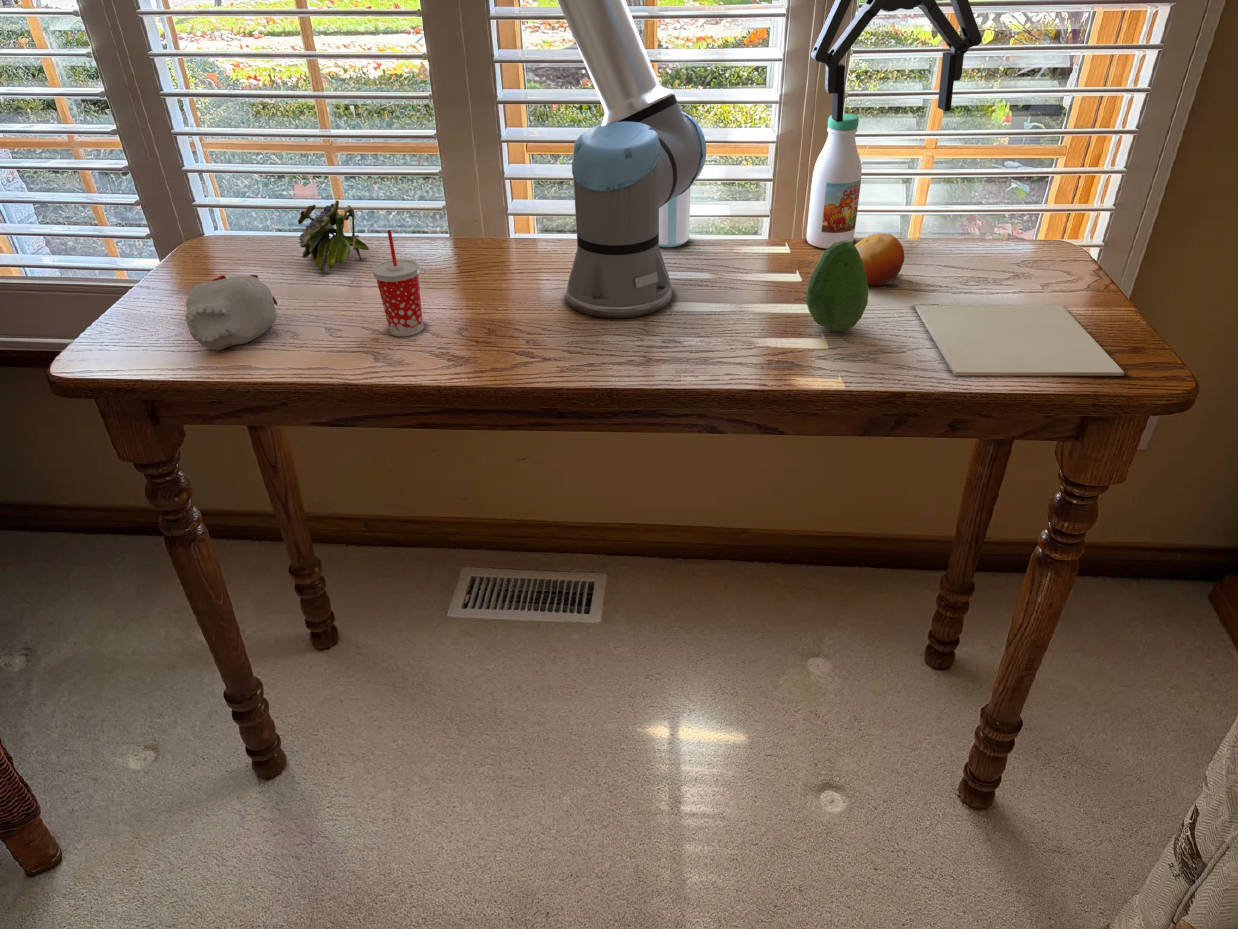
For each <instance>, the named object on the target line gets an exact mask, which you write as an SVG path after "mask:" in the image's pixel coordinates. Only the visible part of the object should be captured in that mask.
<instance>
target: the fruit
mask: <svg viewBox="0 0 1238 929" xmlns="http://www.w3.org/2000/svg"><path fill="white" fill-rule="evenodd" d="M854 246H855V247H856V248H857V250H858V252H859V254H860V257H861V260H862V263H863V266H864V269H865V273H866V278H867V283H868V286H870V287H878V286H879V287H880V286H883V285H894V283H895V280H896V279H897V277H898V275H899V274H900V272H901V270H902V268H903V265H904V264H905V250H904V247H903V245H902V243H901V241H900V240H899V239H898V238H897V237H896V236H894V235H893V234H890V233H875V234H870V235H868V236H866V237H864V238H862V239H861V240H859V241H858V242H856V244H854Z"/></svg>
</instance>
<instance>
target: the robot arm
mask: <svg viewBox="0 0 1238 929" xmlns="http://www.w3.org/2000/svg"><path fill="white" fill-rule="evenodd" d="M949 1H950V5H951V6H952V9H953V13H954V15H955V18H956V21H957V23H958V26H959V28H960V32H961V35H962V37H961V36H960V34H959V33H958V31H957V30H956V29H955V27H954V25H953V24H952V23H951V22H950V20H949V19H948V17H947V16H946V15H945V13H944V12H943V10H942V9H941V8H940V6H939V5H938V3H937V1H936V0H865V1H864V3H863V4H862V5H861V7H860V10H859V11H858V12H857V14H856V15H855V16H854V17H853V19H852V20H851V22H849V24H848V26H847V27H846V28H845V30H844V31H843V33H842V34H841V35H840V37H838V39H837V40H836V42H835V43H834V44H833V46H832V47H831V45H832V43H833V41H834V39H835V37H836V35H837V32H838V30H839V28H840V26H841V24H842V23H843V19H844V18H845V15H846V13H847V11H848V9H849V7H850V5H851V2H852V0H834V2H833V4H832V7H831V8H830V11H829V13H828V15H827V17H826V20H825V22H824V24H823V25H822V29H821V31H820V33H819V35H818V37H817V39H816V42H815V43H814V45H813V48H812V51H811V53H810V57H811V59H813V60H814V61H816V62H819V63H821V64H824V66H825V77H824V81H825V82H824V89H825V91H826V93H827V94H829V95H830V94H832V102H831V103H832V106H831V107H832V108H831V115H832V119H833V120H835V121H836V122H843V114H844V104H845V102H844V101H845V79H846V65H844V64H843V63H841V61H842V60H843V58H844V57H845V56H846V54H847V53H848V51H849V50H850V49H851V47H853V45H854V44H855V42H856V41H857V40H858V38H859V37H860V35H862V33H863V32H864V30H865V29H866V28H867V27H868V25H869V24H870V23H871V21H872V20H873V19H874V18H875V17H877V15H878V14H879V13H880V11H883V12H887V13H890V12H895V11H898V10H906V11H909V10H914V9H915V8H916V7H918V9H920V10H921V11H922V13H923V15H925V17H926V18H927V20H928V21H929V22H930V24H931V25H932V27H933V28H934V29H935V31H936V32H937V33H938V35H939V36H940V38H941V39H942V40H943V41H944V43H945V44H946V46H947V47H948V48H949V50H950V51H944V52H942V59H941V68H940V79H939V90H938V99H937V108H938V109H939V110H942V111H943V112H951V109H952V102H953V94H954V92H953V91H954V85H955V84H954V83H955V82H957V81H960V80H961V78H962V76H963V68H964V67H963V66H964V59H965V58H964V56H965V54H966V53H967V52H968V51H969V49H970V48H973V47H976V46H979V45H980V44H981V43H982V40H983V38H982V35H981V32H980V30H979V27H978V23H977V21H976V18H975V15H974V12H973V10H972V7H971V3H970V1H969V0H949ZM557 3H558V4H559V8H560V10H561V12H562V14H563V17H564V19H565V21H566V23H567V25H568V28H569V31H570V32H571V35H572V37H573V40H574V42H575V44H576V46H577V49H578V52H579V54H580V56H581V58H582V61H583V63H584V65H585V67H586V69H587V72H588V75H589V78H590V79H591V81H592V84H593V86H594V89H595V91H596V93H597V96H598V98H599V100H600V103H601V105H602V107H603V110H604V115H603V119H602V123H601V125H596V126H593V127H591V128H589V129H587V130H585V131H584V132H582V133H581V134H580V135H579V136H578V137H577V138H576V140H575V142H574V144H573V147H572V162H571V174H572V177H573V178H572V180H573V194H574V195H573V196H574V211H575V230H576V252H575V256H574V259H573V262H572V265H571V266H572V267H571V270H570V273H569V278H568V281H567V286H566V295H567V302H568V304H569V306H571V307H572V308H573V309H575V310H576V311H578V312H580V313H583V314H585V315H589V316H592V317H597V318H607V319H628V318H636V317H641V316H646V315H648V314H649V315H650V314H652V313H653V314H654V313H655V312H657V311H659V310H662V309H663V308H665V307H666V306H667V305H668V304H669V303H670V301H671V300H672V282H671V278H670V274H669V273H668V269H667V267H666V264H665V259H664V256H663V254H662V251H661V248H660V246H659V208H660V207H662V206H663V205H665V204H666V203H667V202H668V201H670V200H671V199H673V198H674V197H676V196H678V195H681V194H683V193H684V192H685V191H686V190H687V189H688V188H690V186H691V187H692V186H693V184H694V183H695V182H696V181H697V179H698V178H699V177H700V175H701V173H702V171H703V169H704V166H705V162H706V159H707V142H706V138H705V134H704V132H703V130H702V128H701V126H700V124H699V123H698V121H697V120H695V118H693V117H692V116H691V115H689V114H687V113H686V112H684V111H683V110H681V107H680V104H679V102H678V99H677V97H676V95H675V92H674V91H673V90H671V89H668V88H666V87H663V86H662V85H660V83H659V81H658V79H657V76H656V73H655V71H654V68H653V67H652V64H651V61H650V59H649V57H648V54H647V51H646V49H645V47H644V43H643V42H642V39H641V37H640V34H639V31H638V29H637V26H636V24H635V21H634V19H633V16H632V14H631V12H630V9H629V6H628V4H627V1H626V0H557Z"/></svg>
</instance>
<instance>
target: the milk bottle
mask: <svg viewBox="0 0 1238 929" xmlns="http://www.w3.org/2000/svg"><path fill="white" fill-rule="evenodd" d="M859 118H860V117H859V116H857V115H855V114H851V113H843V122H836V121H835V120H833V119H832V114H831V115H829V116H828V119H827V133H828V134H827V138H826V140H825V141H826V142H825V143H824V146H823V148H822V150H821V152H820V153H819V155H818V157H817V159H816V162H815V165H814V168H813V172H812V180H811V181H812V182H811V188H810V198H809V208H808V216H807V217H808V218H807V227H806V241H807V243H808V244H809V245H811V246H813V247H817V248H820V249H826V250H827V249H828V248H829V247H830V246H831V245H832V244H833V243H834V242H838V241H844V240H847V241H849V242H852V243H853V242H854V239H855V234H856V233H855V231H856V224H857V217H858V209H859V201H860V192H861V183H862V162H861V157H860V155H859V154H860V153H859V151H858V148H857V142H856V133H857V132H858V128H859V121H860V120H859Z"/></svg>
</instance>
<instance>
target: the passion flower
mask: <svg viewBox="0 0 1238 929" xmlns="http://www.w3.org/2000/svg"><path fill="white" fill-rule="evenodd" d="M316 207H317V206H316V204H312V205H308V206H307V207H306V209H305V210H301V211H300V213H299V214H300V216H299V217H298V219H297V222H298V223H297V224H298V225H302V224H303V223H304V222H305V220H306V219H308V220H310V222H309V224H307V225H305V230H303V231H302V233H300V234H299V242H297V245H298V244H299V245H298V246H300V247H301V248H304V250H303V251H302V256H301V258H302V259H306V258H308V257H309V256H310V257H311V258H312V259H314V260H316V266H317V269H318V271H319V272H322V274H323V275H324V274H325V272H326V271H325V267H326V266H327V269H328V270H330V271H331V270H333V269H334V268H335V267H336V266H337V265H338V264H339V265H342V264H344V263H345V262H346V260H347V259H348V258H349V256H350V253H351V247H352V249H353V251H355V252H356V254H357V256H358V258H359V260H360V261H362V257H361V253H360V250H363V251H370V248H369V247H368V245H367V244H366V243H365V242H363V241H362V240H361V239H359V237H360V235H358V234H355V233H356V227H355V218H356V217H355V216H356V215H355V209H353V208H352V206H351V205H347V206H346V207H345V209H343V212H344V213H339V208H340V201H339V200H338V199H337V200H335V201H334V203H331V204H330V205H326V206H325V207H324V209H323V210H321V212H320V213H319V214H317V215H315V216H314V217H312V216H311V214H312V213H313V211H315V209H316ZM350 218H351V229H352V230H351V232H352V233H351V236H350V235H345V234H344V227H345V221H349V220H350ZM335 227H336V228H335ZM330 235H331V236H330ZM326 263H327V264H326Z"/></svg>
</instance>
